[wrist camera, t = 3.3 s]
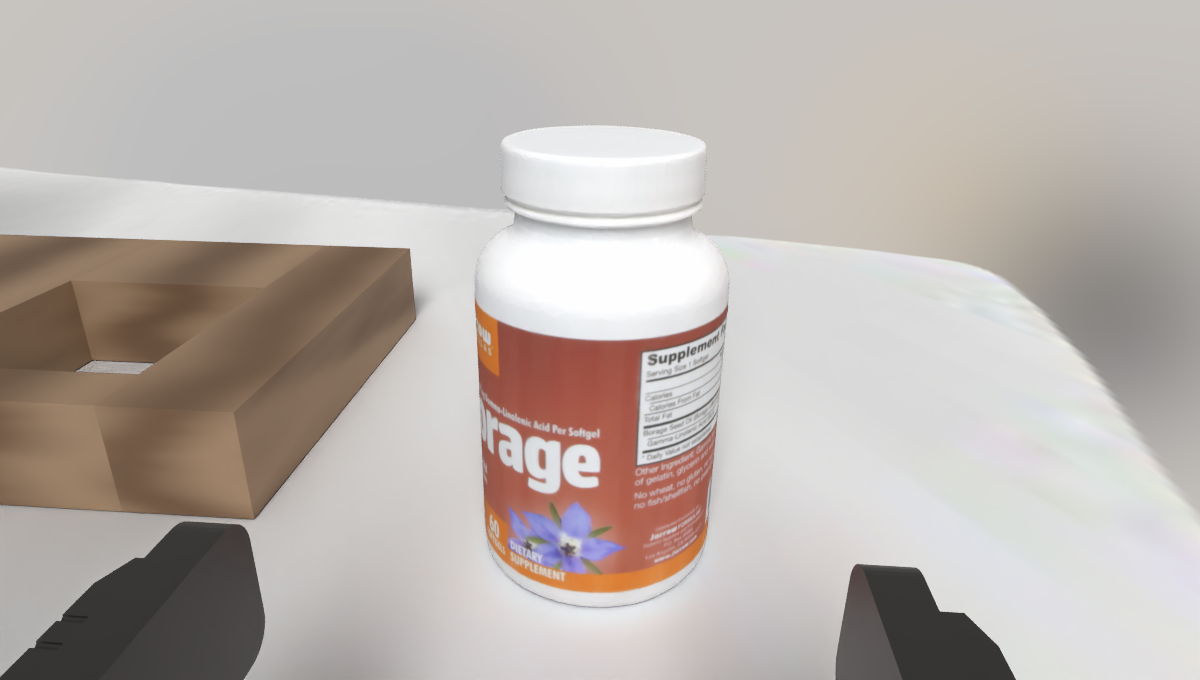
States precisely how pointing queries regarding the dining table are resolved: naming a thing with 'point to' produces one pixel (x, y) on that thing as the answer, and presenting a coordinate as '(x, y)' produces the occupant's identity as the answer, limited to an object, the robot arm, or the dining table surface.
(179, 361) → the socket block
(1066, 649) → the dining table surface
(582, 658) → the dining table surface
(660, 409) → the pill bottle
